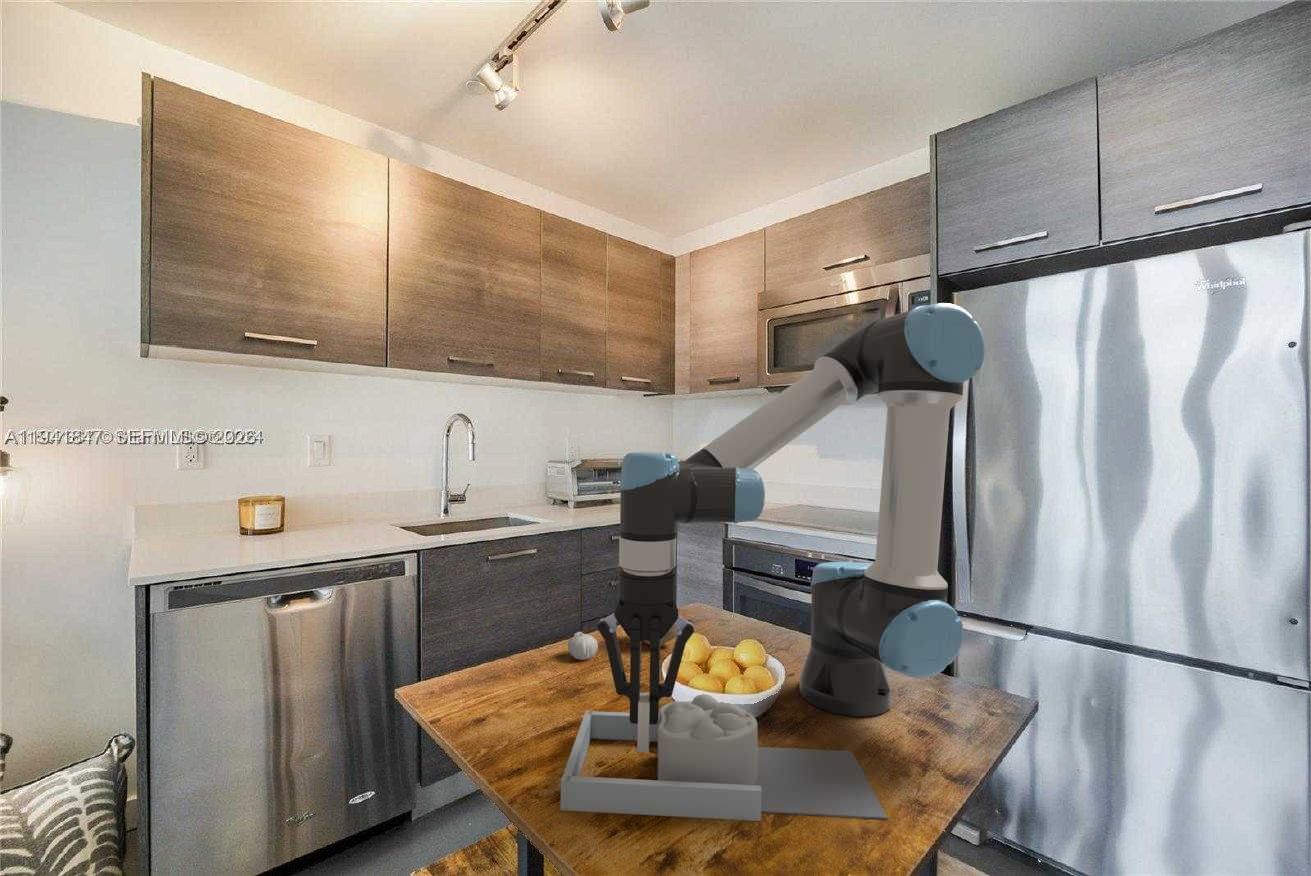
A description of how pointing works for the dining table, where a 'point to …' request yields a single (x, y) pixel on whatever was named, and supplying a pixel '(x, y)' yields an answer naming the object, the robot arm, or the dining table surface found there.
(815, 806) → the mat
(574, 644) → the garlic
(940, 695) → the dining table surface
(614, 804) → the low rectangular rim
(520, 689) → the dining table surface
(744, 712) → the lumpy-topped squat cylinder
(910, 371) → the robot arm
